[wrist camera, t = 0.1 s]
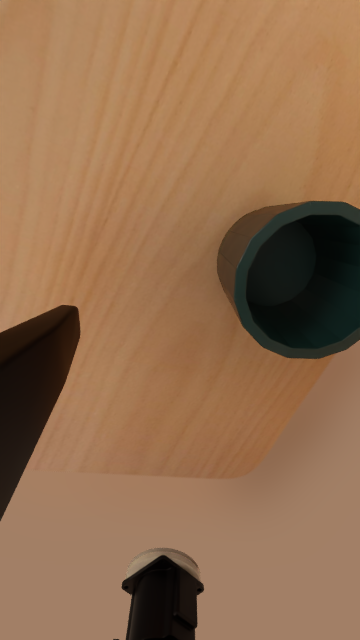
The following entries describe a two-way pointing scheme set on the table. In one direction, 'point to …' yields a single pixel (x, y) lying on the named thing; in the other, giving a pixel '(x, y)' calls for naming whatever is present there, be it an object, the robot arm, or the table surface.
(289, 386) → the table surface
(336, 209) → the tin
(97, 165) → the table surface
